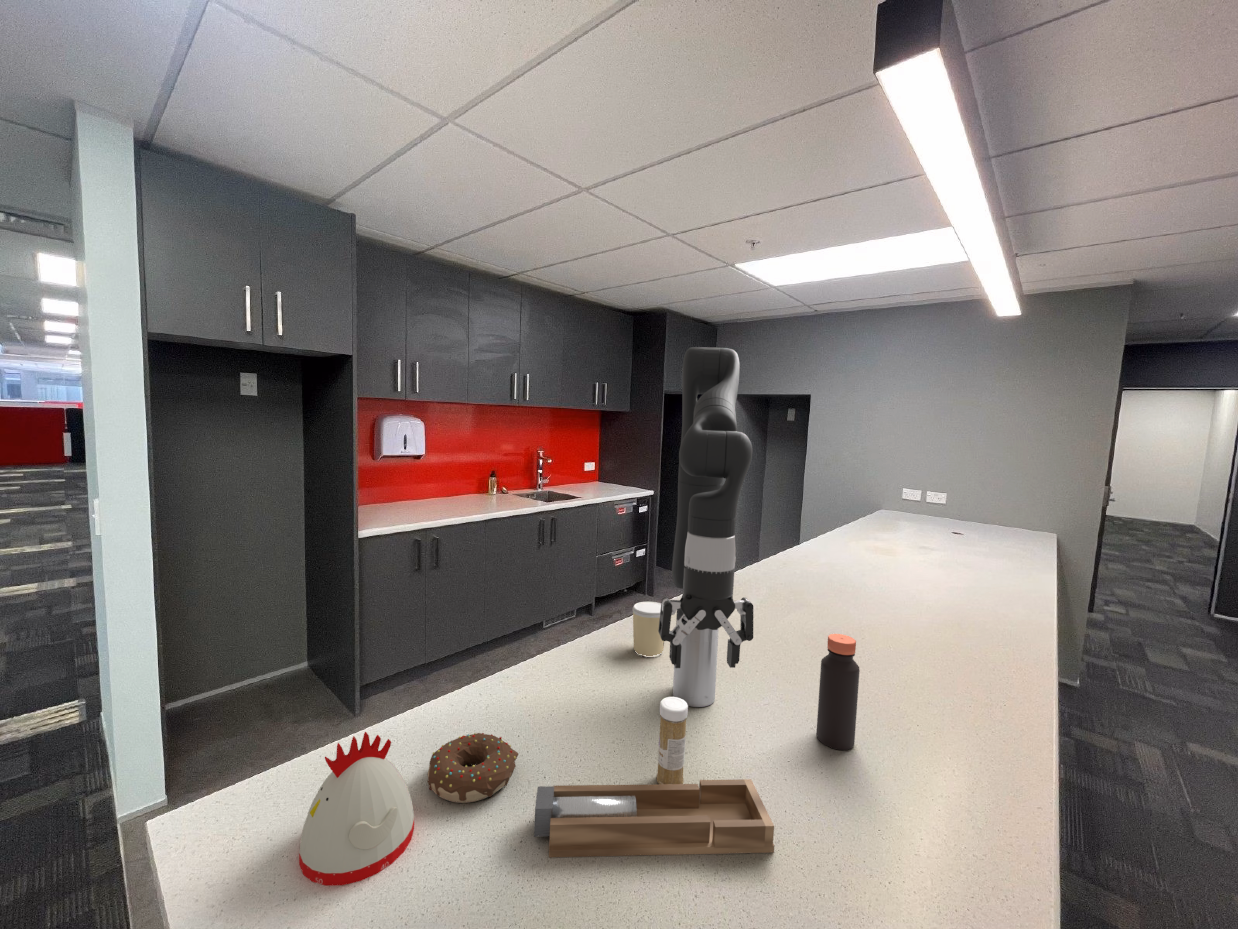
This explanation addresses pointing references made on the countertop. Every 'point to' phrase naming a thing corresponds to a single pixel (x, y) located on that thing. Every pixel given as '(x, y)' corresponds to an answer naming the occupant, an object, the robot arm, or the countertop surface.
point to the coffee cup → (647, 628)
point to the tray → (668, 821)
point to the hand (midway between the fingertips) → (703, 665)
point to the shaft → (578, 808)
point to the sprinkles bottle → (672, 740)
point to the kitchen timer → (356, 817)
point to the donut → (471, 768)
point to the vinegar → (838, 694)
